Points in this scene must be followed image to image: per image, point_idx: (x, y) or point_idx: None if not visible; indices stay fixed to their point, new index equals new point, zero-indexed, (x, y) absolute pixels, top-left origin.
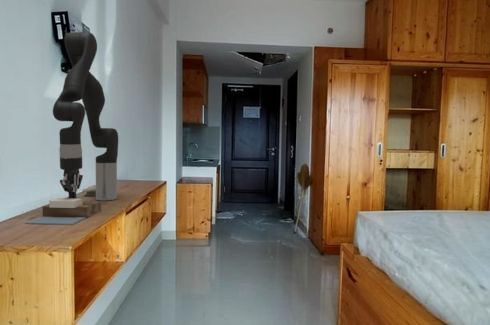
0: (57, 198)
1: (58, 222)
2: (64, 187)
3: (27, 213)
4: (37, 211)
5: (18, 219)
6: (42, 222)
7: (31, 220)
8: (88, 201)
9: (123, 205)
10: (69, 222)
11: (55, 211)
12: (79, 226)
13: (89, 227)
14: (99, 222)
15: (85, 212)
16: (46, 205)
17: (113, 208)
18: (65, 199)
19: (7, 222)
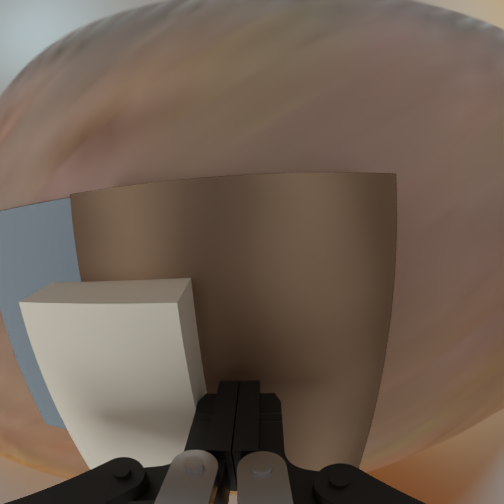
0: (150, 304)
1: (31, 369)
2: (60, 500)
3: (228, 8)
4: (306, 27)
5: (54, 91)
6: (4, 299)
7: (14, 210)
8: (371, 419)
9: (476, 418)
10: (52, 409)
11: None
12: (48, 442)
13: (57, 466)
14: None
15: None
16: (116, 193)
17: (421, 429)
18: (126, 407)
19: (3, 104)
